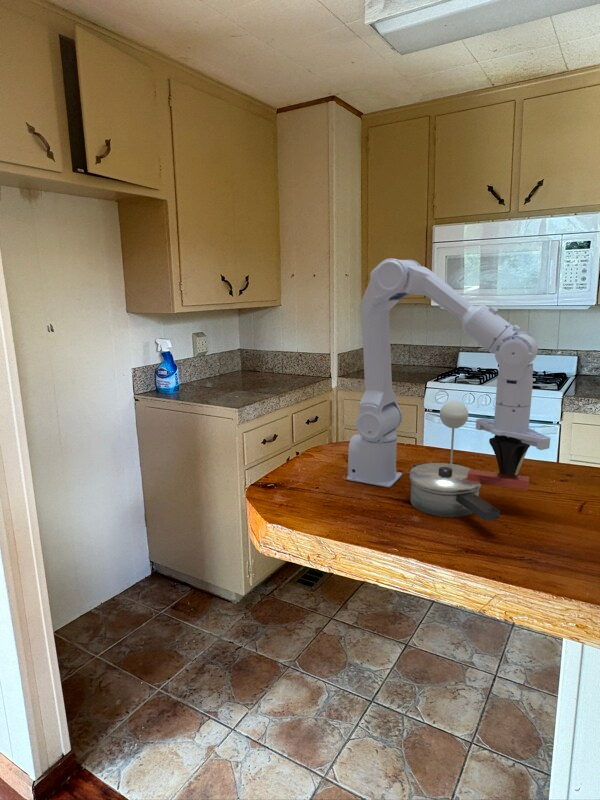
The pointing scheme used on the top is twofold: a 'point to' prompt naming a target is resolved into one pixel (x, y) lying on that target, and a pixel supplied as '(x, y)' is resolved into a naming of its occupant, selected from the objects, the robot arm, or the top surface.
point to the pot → (451, 503)
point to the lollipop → (453, 418)
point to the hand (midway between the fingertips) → (507, 476)
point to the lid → (462, 478)
